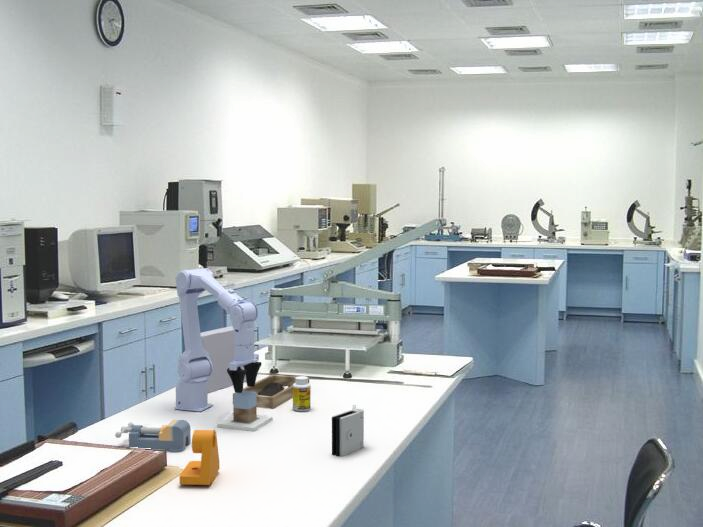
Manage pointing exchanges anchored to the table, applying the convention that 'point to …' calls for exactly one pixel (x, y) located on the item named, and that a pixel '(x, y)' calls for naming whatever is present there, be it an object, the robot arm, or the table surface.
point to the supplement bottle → (301, 394)
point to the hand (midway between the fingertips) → (244, 389)
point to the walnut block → (244, 414)
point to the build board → (249, 426)
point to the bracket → (202, 459)
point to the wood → (271, 389)
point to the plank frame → (277, 398)
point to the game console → (219, 356)
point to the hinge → (347, 431)
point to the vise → (159, 436)
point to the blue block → (245, 400)
